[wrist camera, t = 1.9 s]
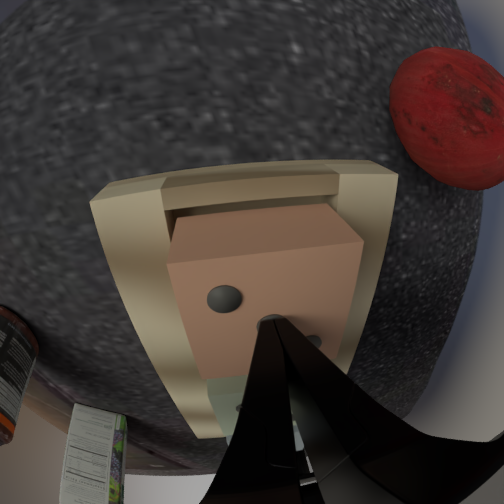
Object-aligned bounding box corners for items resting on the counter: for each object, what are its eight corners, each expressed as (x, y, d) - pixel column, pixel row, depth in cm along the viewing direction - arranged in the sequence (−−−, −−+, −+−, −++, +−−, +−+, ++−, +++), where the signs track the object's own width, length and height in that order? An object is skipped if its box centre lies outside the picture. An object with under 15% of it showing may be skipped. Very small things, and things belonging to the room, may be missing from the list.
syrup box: (128, 432, 24) (127, 540, 11) (81, 420, 22) (72, 526, 10) (126, 414, 21) (123, 544, 9) (72, 400, 19) (56, 525, 7)
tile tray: (320, 398, 23) (326, 418, 21) (196, 417, 22) (198, 438, 20) (369, 160, 12) (398, 174, 10) (110, 182, 10) (89, 201, 8)
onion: (336, 123, 11) (485, 178, 4) (380, 29, 8) (522, 15, 1) (416, 177, 12) (529, 253, 6) (452, 96, 10) (569, 133, 3)
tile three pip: (315, 311, 13) (337, 359, 10) (200, 327, 12) (201, 381, 10) (326, 203, 10) (365, 243, 7) (177, 217, 10) (166, 266, 7)
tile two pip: (302, 383, 17) (314, 422, 14) (219, 396, 16) (224, 437, 13) (312, 330, 14) (331, 377, 11) (205, 345, 13) (207, 397, 11)
